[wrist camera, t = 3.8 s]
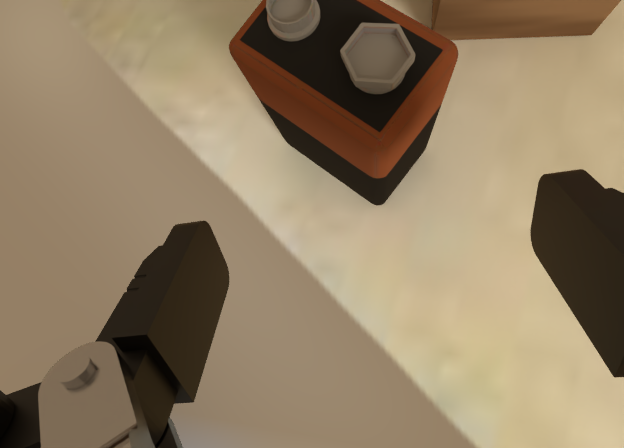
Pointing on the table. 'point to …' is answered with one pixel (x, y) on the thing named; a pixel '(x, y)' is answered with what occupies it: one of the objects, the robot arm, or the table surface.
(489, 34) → the base brick
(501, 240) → the table surface
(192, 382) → the robot arm
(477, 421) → the table surface
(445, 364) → the table surface
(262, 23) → the battery
